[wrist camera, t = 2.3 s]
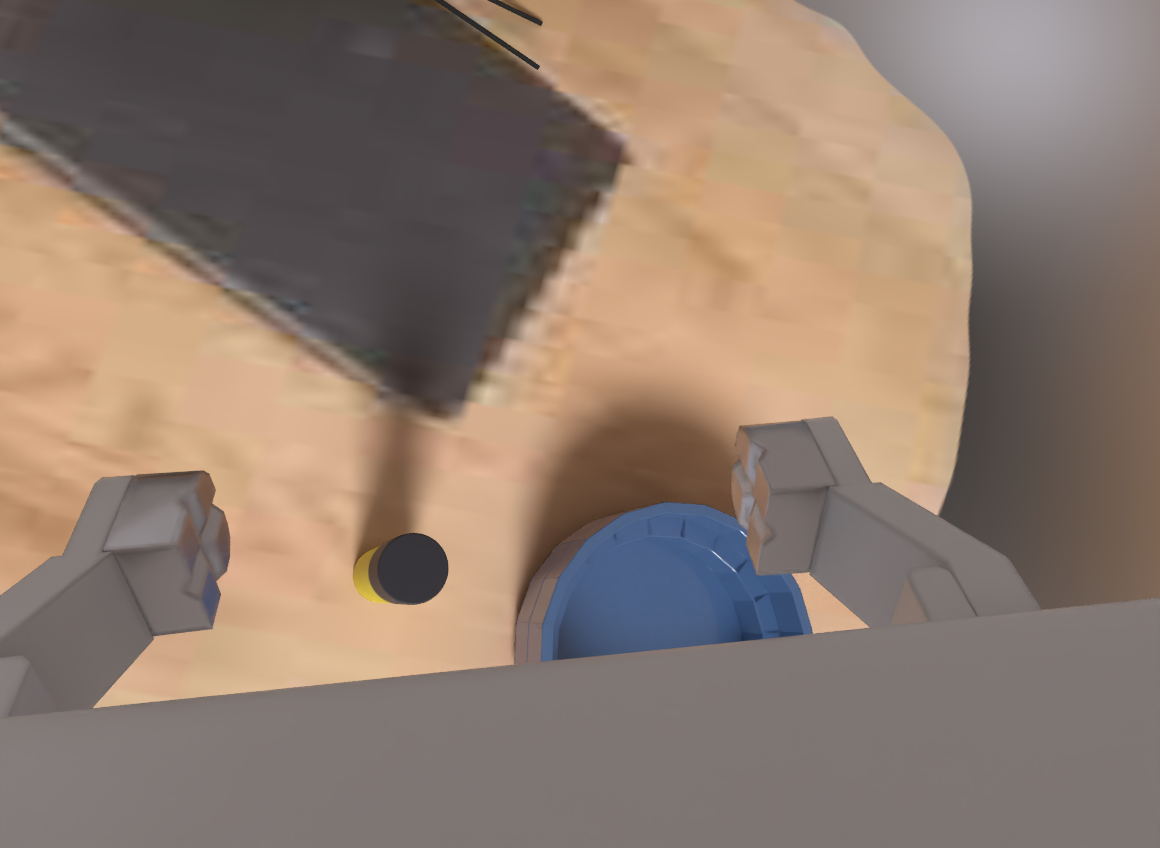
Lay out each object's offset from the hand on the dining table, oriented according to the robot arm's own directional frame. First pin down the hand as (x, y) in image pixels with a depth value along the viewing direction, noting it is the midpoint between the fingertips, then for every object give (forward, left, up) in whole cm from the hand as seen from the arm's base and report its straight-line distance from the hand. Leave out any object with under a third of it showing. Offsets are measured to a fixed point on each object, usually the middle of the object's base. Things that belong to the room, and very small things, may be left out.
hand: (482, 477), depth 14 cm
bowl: (+17, +7, -35) cm, 39 cm away
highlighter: (+3, +1, -35) cm, 35 cm away
